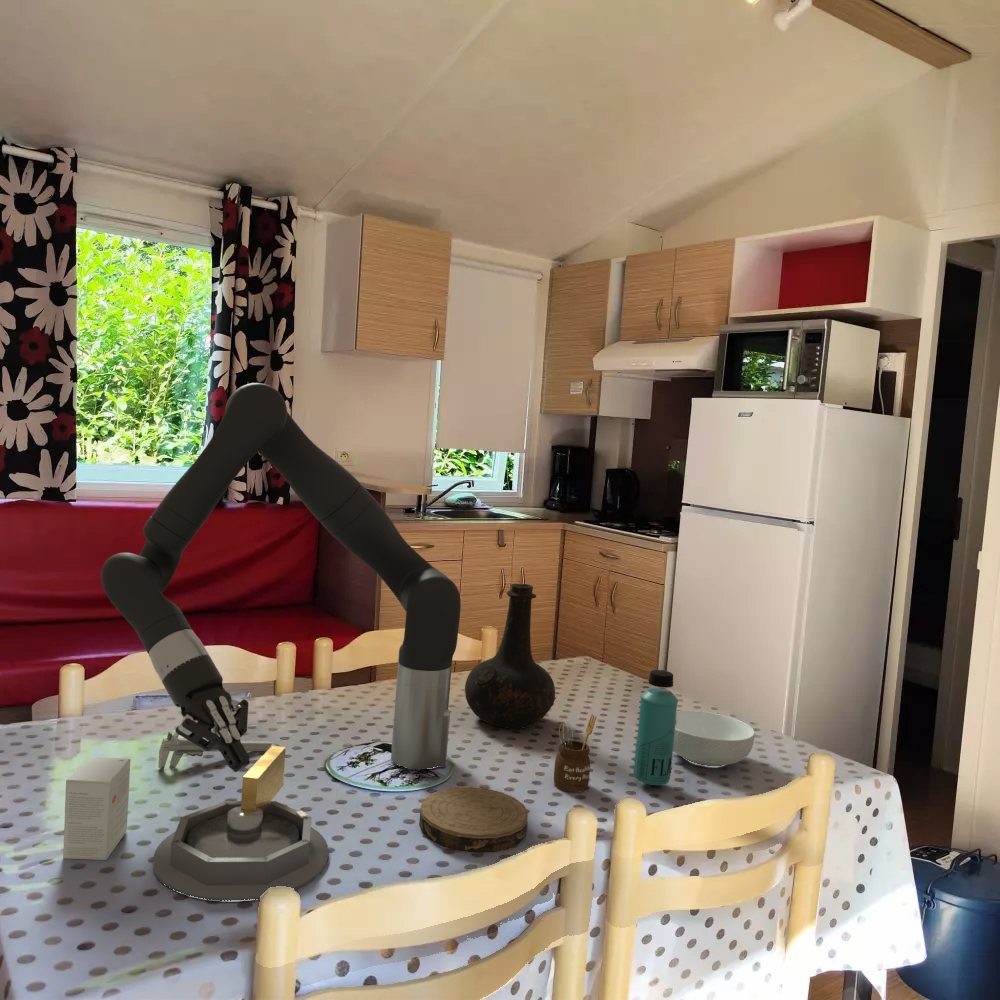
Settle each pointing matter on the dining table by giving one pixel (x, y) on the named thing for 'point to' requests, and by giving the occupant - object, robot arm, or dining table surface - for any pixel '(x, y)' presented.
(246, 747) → the caliper
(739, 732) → the cereal bowl
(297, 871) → the dial housing
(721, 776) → the dining table surface
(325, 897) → the dining table surface
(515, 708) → the glass bottle
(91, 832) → the small box
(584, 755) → the utensil holder
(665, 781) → the beverage bottle
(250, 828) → the dial
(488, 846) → the wooden log slice
